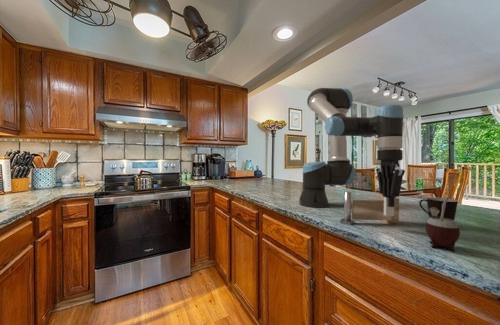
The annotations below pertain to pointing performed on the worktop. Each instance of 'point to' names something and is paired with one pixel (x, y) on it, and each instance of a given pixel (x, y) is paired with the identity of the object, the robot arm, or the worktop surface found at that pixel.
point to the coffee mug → (440, 207)
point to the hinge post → (347, 209)
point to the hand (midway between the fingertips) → (388, 215)
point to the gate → (373, 210)
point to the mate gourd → (442, 231)
